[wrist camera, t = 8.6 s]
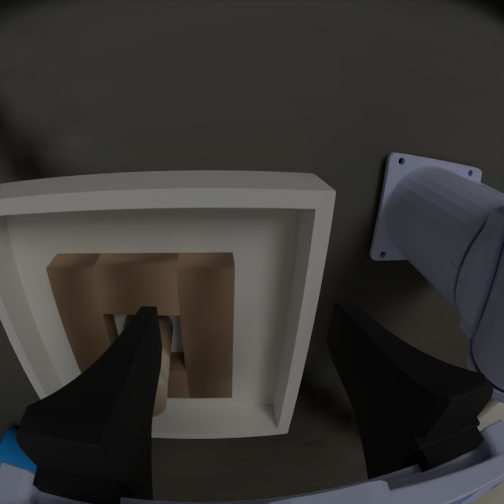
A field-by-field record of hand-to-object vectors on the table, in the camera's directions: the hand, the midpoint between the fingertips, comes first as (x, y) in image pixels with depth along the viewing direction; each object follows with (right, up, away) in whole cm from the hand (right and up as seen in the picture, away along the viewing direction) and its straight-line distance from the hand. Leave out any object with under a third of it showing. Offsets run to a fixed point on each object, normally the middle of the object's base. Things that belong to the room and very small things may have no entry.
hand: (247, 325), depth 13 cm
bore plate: (-7, -2, +11) cm, 13 cm away
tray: (-7, -2, +11) cm, 13 cm away
